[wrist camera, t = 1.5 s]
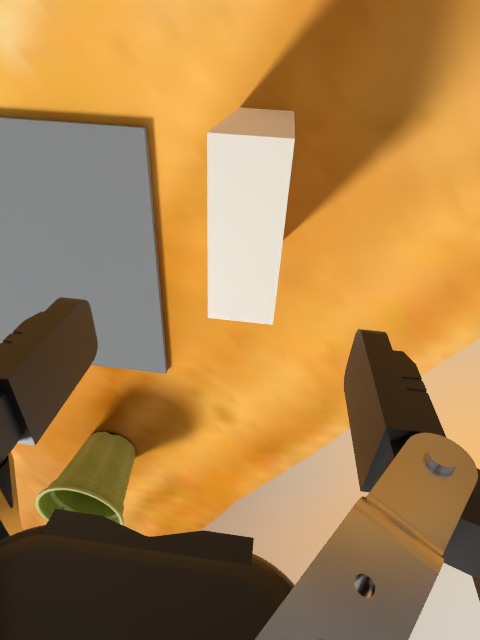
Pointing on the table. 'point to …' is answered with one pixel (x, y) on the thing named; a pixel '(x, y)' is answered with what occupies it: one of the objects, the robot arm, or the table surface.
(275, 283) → the cream block
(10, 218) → the slate mat
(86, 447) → the plant pot
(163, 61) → the table surface
